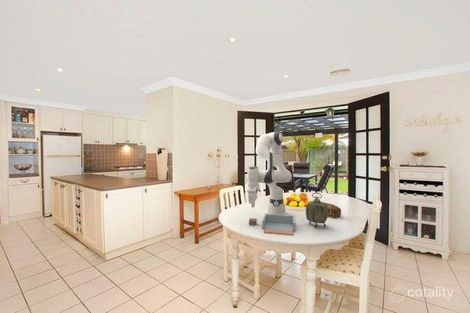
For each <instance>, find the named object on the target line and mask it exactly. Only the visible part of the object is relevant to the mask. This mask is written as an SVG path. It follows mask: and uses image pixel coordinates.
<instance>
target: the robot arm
mask: <svg viewBox="0 0 470 313" xmlns="http://www.w3.org/2000/svg"><path fill="white" fill-rule="evenodd" d="M283 141H284V136H283V133H282V132H281V131H275V132H269V133H266V134H261V135H260V136H259V138H258V141H257V143H256V147H255V153H256V155H257V156H258V157H259V158H261V159H263V160H265V161H267V169H266V170H263V169H262V170H261V169H259V166H256V165H253V166H249V167H248V168H247V174H246V176H247V178H246V180H247V183H246V185H247V188H246V192H247V199H248V204H250V205H251V208H255V206H256V205H255V204H256V201H257V198H258V192H260V183H262V184H266V185H267V186H268V189H269V196H270V197H269V203H268V205H267V211H266V212H265V214H275V215H289V214H288V212H287V211H286V205H285V203H284V190H283V188H282V187H280V186H278V185H277V183H279V184H280V183H283V184H284V183H290V182H291V181H292V179H293V177H292V176H293V175H292V174H293V173H292V172H290V170H288V169H287V168H286V166H285V164H284V159H283V149H282V143H283ZM274 168H276V169H274Z"/></svg>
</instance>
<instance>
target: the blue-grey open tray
mask: <svg viewBox="0 0 470 313" xmlns="http://www.w3.org/2000/svg"><path fill="white" fill-rule="evenodd" d="M262 218H263V219H262V223H261V224H262V227H261V228H262V230H264V229H277V230H289V231H293V233H296V219H295V215H290V214H288V215H275V214H266V213H264V215H263V217H262Z"/></svg>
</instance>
